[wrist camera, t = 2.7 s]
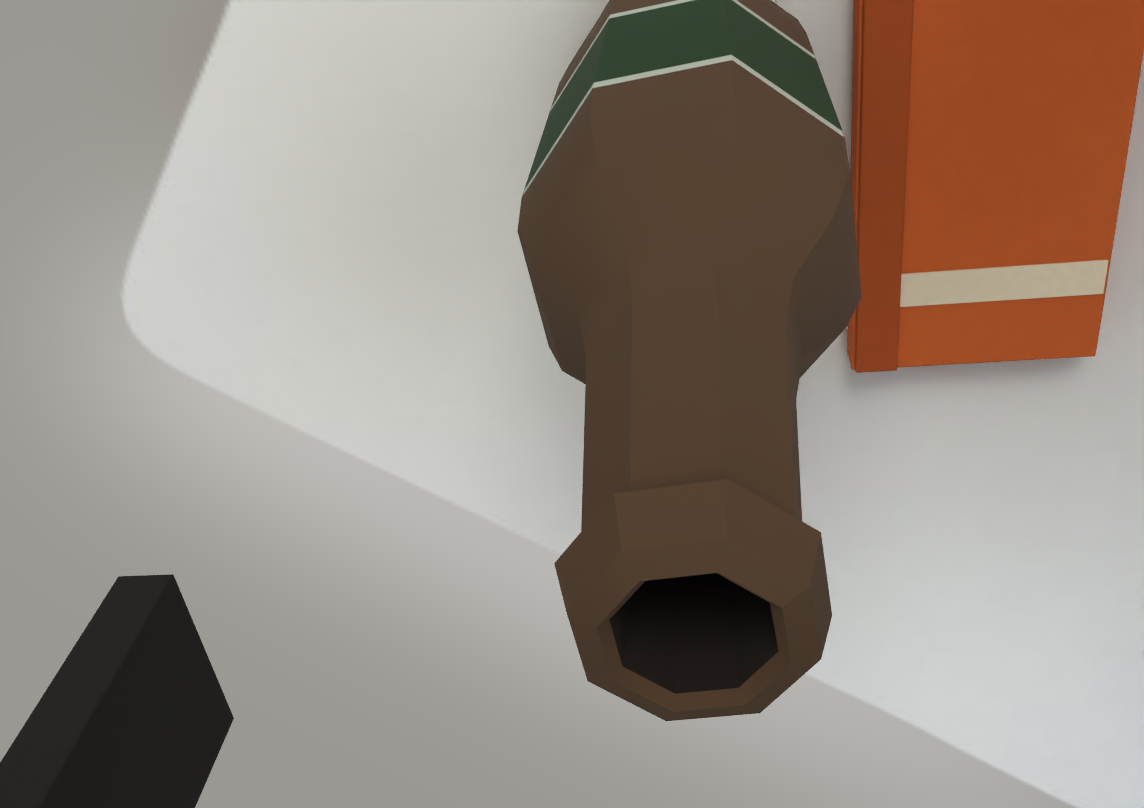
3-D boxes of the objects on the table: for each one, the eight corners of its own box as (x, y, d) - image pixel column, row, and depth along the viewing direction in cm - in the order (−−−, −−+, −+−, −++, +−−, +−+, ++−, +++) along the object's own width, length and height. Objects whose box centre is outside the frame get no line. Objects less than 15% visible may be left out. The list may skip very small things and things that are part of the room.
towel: (1084, 339, 37) (1097, 359, 36) (847, 353, 38) (852, 373, 37) (1190, -367, 27) (1214, -369, 26) (858, -319, 28) (866, -320, 27)
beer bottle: (515, 52, 34) (266, 565, 14) (732, -103, 31) (821, 259, 11) (651, 245, 37) (612, 892, 17) (860, 120, 34) (1115, 723, 14)
